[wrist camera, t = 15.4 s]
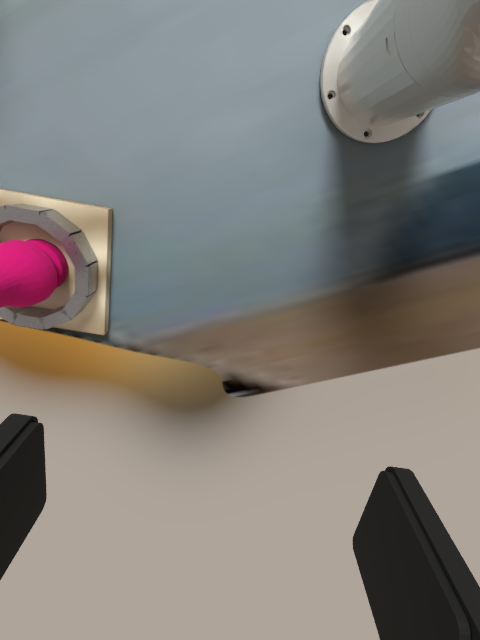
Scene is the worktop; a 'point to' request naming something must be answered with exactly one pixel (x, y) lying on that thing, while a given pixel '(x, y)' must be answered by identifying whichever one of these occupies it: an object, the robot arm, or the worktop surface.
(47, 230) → the steel ring collar
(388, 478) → the robot arm
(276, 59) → the worktop surface
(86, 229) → the birch board
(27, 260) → the pepper mill
